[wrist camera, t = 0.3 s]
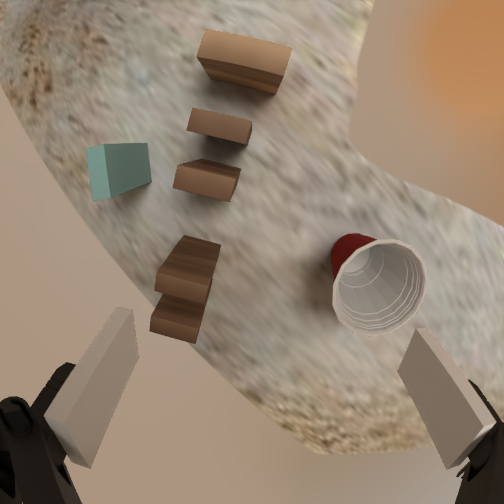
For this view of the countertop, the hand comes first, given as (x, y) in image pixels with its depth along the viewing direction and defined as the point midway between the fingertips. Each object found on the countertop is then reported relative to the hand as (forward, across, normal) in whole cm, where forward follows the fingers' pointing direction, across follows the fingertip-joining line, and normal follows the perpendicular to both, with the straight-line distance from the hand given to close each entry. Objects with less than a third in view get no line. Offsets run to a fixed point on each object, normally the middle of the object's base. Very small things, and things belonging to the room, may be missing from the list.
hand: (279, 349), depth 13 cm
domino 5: (+26, -8, -10) cm, 29 cm away
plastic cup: (+27, +12, -4) cm, 30 cm away
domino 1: (+26, -16, +5) cm, 31 cm away
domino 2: (+26, -5, +10) cm, 29 cm away
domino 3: (+26, -6, +5) cm, 28 cm away
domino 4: (+26, -8, -5) cm, 28 cm away
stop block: (+26, -4, +17) cm, 32 cm away
